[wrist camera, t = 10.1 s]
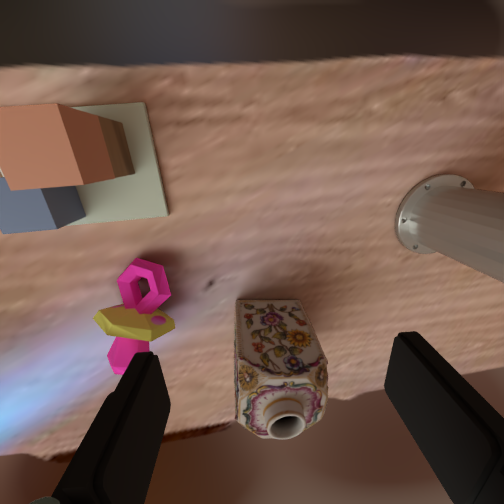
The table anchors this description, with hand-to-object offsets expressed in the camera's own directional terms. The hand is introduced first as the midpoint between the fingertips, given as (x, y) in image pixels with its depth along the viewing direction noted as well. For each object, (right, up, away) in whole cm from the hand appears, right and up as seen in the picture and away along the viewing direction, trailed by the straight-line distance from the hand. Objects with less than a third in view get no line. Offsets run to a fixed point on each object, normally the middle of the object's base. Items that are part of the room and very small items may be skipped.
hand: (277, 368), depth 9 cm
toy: (-19, -4, +30) cm, 36 cm away
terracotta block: (-19, +15, +15) cm, 29 cm away
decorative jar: (+1, -9, +34) cm, 35 cm away
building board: (-23, +16, +22) cm, 35 cm away
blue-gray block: (-27, +12, +22) cm, 37 cm away
